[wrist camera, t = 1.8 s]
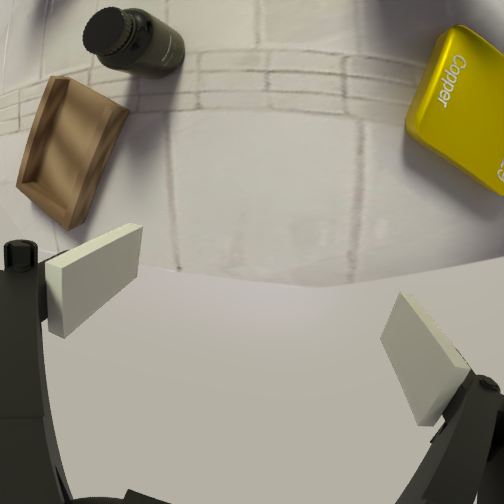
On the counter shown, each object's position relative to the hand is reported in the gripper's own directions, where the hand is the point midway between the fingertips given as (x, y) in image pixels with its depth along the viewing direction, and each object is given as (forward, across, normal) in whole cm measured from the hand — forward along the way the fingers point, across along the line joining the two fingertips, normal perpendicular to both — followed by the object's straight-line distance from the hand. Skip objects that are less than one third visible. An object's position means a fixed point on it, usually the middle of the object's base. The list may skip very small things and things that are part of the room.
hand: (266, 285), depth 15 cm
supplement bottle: (+21, -18, +16) cm, 32 cm away
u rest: (+23, -29, +2) cm, 37 cm away
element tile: (+20, +19, +19) cm, 33 cm away
